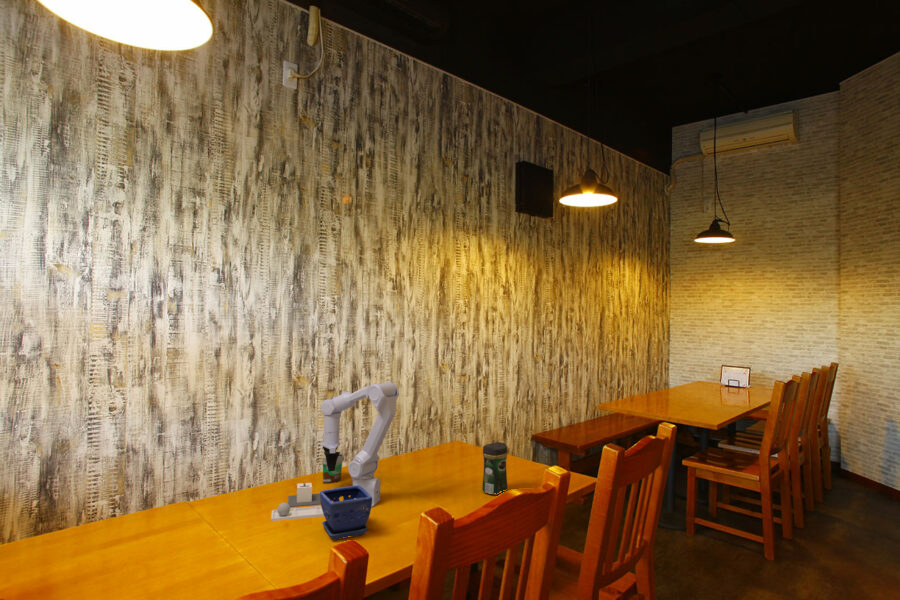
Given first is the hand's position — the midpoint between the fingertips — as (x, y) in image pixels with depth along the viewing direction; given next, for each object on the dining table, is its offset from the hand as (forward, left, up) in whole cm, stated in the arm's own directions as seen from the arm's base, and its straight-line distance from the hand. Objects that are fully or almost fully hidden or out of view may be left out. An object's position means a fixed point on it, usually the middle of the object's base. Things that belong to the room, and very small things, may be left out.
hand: (330, 468), depth 194 cm
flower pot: (-20, +31, -10) cm, 38 cm away
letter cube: (+5, +10, -9) cm, 14 cm away
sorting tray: (-2, +21, -9) cm, 23 cm away
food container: (+5, -15, -10) cm, 19 cm away
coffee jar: (-59, -19, -10) cm, 63 cm away
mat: (+5, +10, -9) cm, 15 cm away
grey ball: (+5, +25, -9) cm, 27 cm away
